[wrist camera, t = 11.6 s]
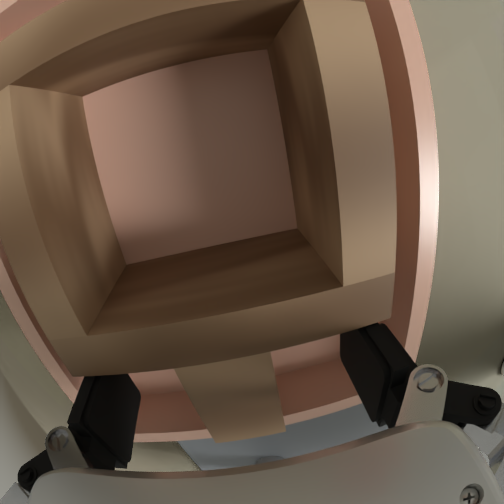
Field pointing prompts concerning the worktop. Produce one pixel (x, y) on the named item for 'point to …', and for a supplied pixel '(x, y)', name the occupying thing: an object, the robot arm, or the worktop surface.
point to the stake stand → (284, 440)
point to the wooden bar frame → (214, 257)
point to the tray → (241, 199)
